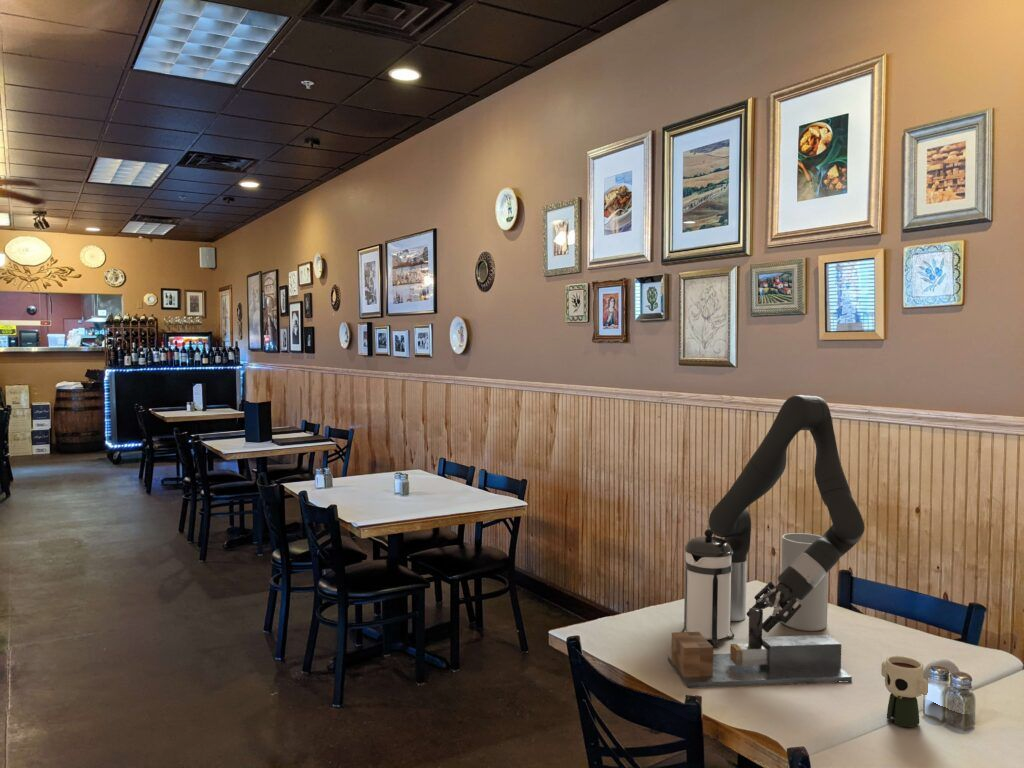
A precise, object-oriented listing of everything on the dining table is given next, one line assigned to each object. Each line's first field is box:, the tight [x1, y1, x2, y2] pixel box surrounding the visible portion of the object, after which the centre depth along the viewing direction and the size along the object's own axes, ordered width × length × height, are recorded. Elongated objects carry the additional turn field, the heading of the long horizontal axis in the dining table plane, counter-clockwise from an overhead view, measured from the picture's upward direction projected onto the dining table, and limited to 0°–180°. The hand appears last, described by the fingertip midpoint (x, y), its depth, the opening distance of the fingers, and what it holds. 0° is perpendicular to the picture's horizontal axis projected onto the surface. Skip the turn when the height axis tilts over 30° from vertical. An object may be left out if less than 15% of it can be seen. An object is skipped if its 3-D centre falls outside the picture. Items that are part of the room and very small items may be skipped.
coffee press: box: [680, 528, 735, 649], centre depth 209 cm, size 17×16×30 cm
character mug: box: [880, 655, 928, 728], centre depth 161 cm, size 11×7×13 cm, turn 24°
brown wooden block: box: [670, 631, 714, 677], centre depth 185 cm, size 10×7×7 cm
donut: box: [923, 658, 961, 681], centre depth 170 cm, size 10×4×10 cm, turn 107°
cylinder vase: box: [781, 532, 829, 632], centre depth 219 cm, size 12×12×25 cm
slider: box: [729, 607, 769, 665], centre depth 187 cm, size 4×24×13 cm, turn 96°
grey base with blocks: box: [667, 634, 853, 689], centre depth 187 cm, size 16×40×7 cm, turn 96°
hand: (756, 623), depth 187 cm, fingers open, 8 cm apart
